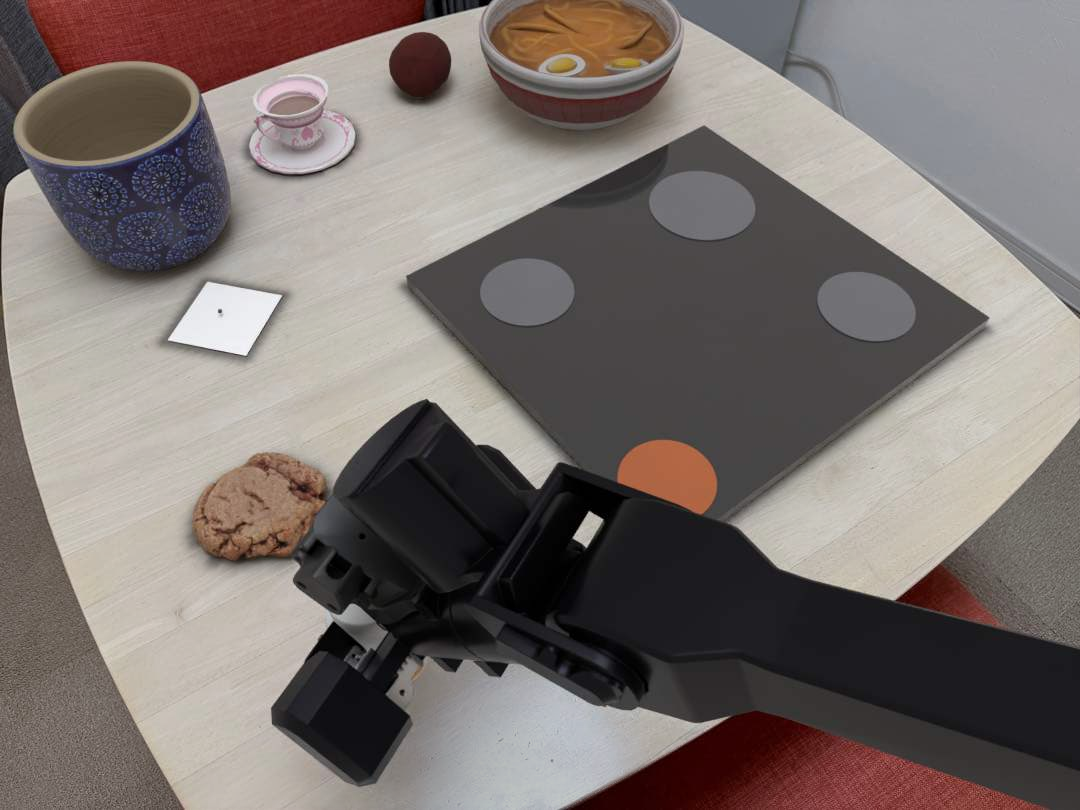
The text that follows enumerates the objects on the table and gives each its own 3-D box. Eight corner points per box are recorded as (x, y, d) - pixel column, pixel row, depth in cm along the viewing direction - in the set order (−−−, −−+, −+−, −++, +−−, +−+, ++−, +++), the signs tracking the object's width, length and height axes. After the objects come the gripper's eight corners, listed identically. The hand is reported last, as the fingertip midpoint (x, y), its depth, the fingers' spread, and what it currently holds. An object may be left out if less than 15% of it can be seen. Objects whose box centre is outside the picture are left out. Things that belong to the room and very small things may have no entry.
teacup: (314, 100, 107) (303, 52, 102) (377, 142, 102) (369, 94, 97) (229, 144, 102) (213, 96, 97) (291, 191, 96) (278, 142, 92)
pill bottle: (358, 609, 61) (330, 538, 54) (439, 620, 61) (422, 549, 53) (335, 689, 58) (301, 625, 50) (420, 701, 57) (399, 639, 50)
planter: (219, 295, 87) (168, 170, 75) (54, 288, 87) (-23, 163, 76) (262, 186, 97) (222, 61, 85) (113, 181, 98) (54, 56, 86)
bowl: (631, 182, 97) (639, 101, 89) (448, 129, 103) (440, 49, 95) (700, 76, 110) (712, -3, 102) (533, 34, 116) (533, -44, 108)
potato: (459, 70, 111) (455, 16, 105) (447, 109, 106) (441, 55, 100) (401, 66, 111) (394, 13, 106) (386, 105, 106) (377, 51, 101)
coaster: (246, 355, 82) (243, 350, 81) (167, 340, 83) (164, 334, 82) (282, 295, 86) (280, 289, 86) (207, 281, 88) (205, 275, 87)
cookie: (178, 506, 72) (165, 486, 70) (296, 442, 76) (287, 421, 73) (230, 596, 67) (219, 578, 65) (353, 523, 71) (346, 503, 69)
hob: (983, 328, 84) (990, 316, 82) (670, 561, 69) (672, 551, 67) (702, 136, 102) (704, 123, 101) (407, 286, 87) (405, 274, 86)
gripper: (490, 351, 45) (353, 405, 57) (247, 665, 35) (143, 649, 47) (622, 497, 49) (467, 518, 61) (437, 818, 39) (295, 767, 51)
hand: (354, 601), depth 55 cm, fingers closed on pill bottle, 6 cm apart
